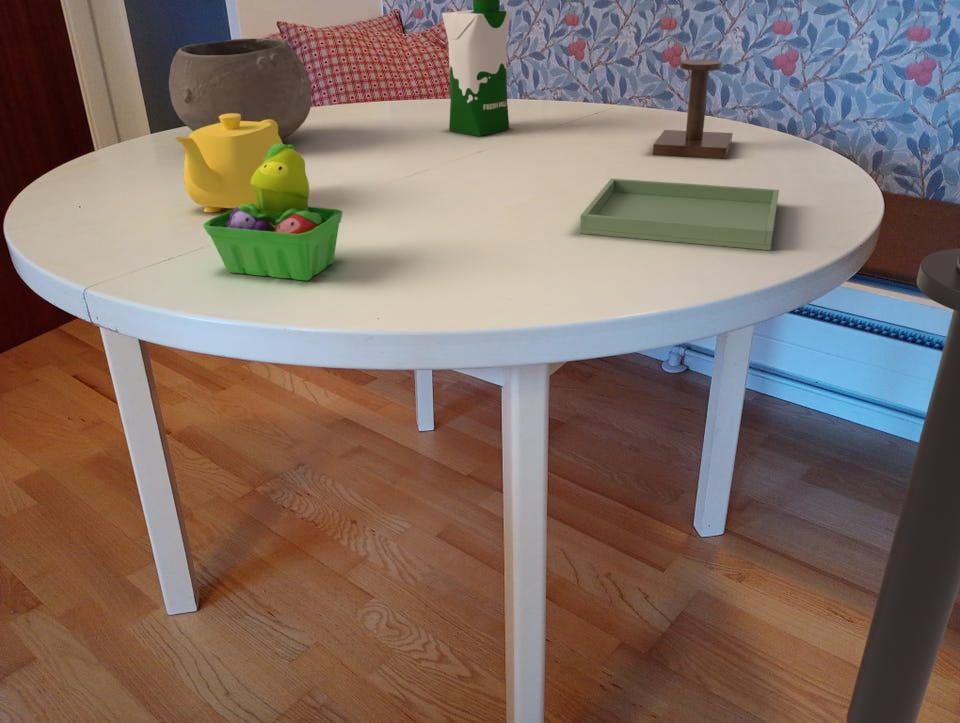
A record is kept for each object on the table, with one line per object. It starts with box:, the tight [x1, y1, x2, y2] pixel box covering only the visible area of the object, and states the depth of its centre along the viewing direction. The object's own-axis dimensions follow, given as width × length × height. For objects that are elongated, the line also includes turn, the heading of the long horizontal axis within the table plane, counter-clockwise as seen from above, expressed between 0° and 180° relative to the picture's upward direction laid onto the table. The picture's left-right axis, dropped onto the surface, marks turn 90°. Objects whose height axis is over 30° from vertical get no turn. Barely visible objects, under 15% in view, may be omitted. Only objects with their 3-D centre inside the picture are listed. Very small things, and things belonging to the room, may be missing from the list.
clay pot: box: [168, 38, 312, 141], centre depth 126 cm, size 21×21×15 cm
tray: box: [579, 178, 780, 251], centre depth 90 cm, size 19×15×2 cm
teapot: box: [174, 113, 284, 213], centre depth 96 cm, size 18×11×11 cm, turn 159°
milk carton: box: [441, 0, 512, 137], centre depth 130 cm, size 9×9×20 cm
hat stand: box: [652, 58, 733, 160], centre depth 117 cm, size 10×10×12 cm
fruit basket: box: [202, 143, 343, 281], centre depth 78 cm, size 11×9×11 cm
